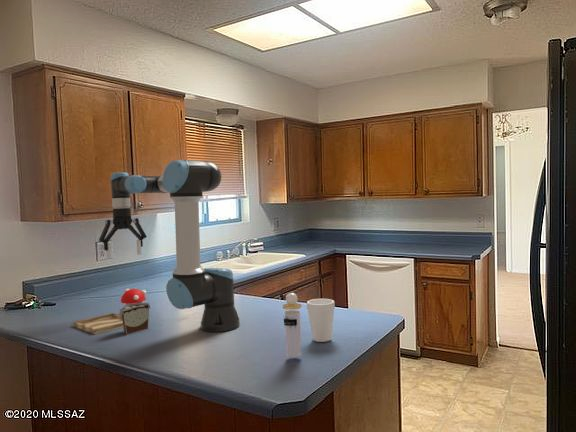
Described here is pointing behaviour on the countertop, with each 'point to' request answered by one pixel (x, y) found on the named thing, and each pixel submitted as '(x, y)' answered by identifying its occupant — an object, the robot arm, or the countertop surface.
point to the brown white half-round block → (135, 317)
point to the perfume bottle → (292, 326)
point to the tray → (100, 323)
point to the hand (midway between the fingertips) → (124, 256)
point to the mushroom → (133, 296)
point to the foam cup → (321, 318)
